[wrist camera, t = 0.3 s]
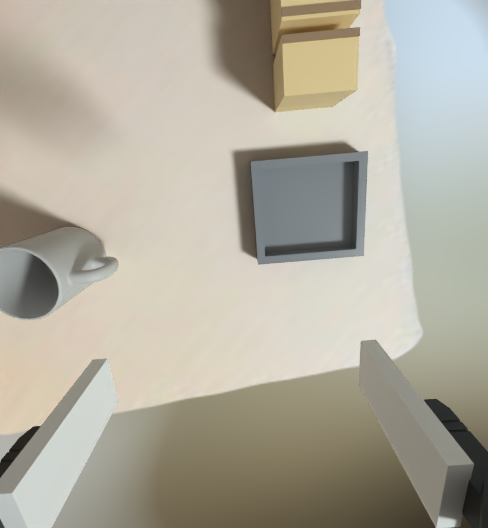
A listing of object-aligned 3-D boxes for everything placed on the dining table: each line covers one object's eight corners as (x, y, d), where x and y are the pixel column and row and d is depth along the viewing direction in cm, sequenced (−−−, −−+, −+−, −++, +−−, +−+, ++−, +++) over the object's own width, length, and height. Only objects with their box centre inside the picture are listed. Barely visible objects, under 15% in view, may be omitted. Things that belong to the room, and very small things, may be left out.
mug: (53, 285, 42) (-9, 322, 32) (39, 226, 40) (-34, 246, 29) (136, 282, 42) (101, 319, 32) (127, 224, 40) (86, 243, 29)
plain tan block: (273, 65, 34) (282, 33, 26) (332, 59, 34) (359, 26, 26) (275, 112, 36) (284, 95, 28) (332, 106, 36) (358, 89, 28)
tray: (250, 162, 37) (250, 161, 35) (359, 152, 37) (367, 151, 35) (257, 259, 41) (258, 264, 39) (356, 250, 41) (363, 255, 39)
